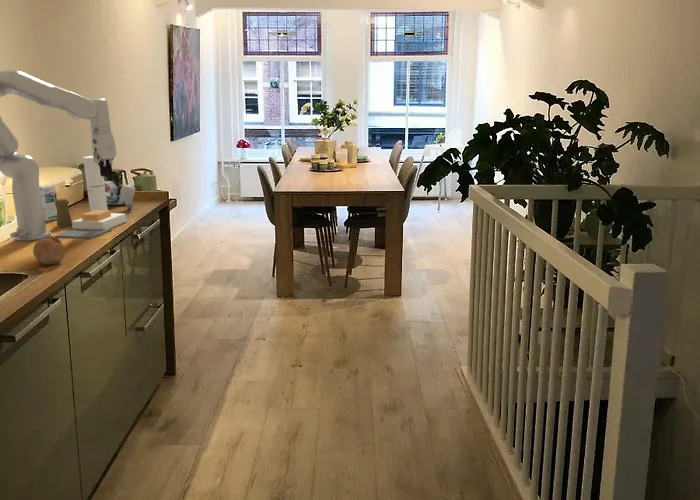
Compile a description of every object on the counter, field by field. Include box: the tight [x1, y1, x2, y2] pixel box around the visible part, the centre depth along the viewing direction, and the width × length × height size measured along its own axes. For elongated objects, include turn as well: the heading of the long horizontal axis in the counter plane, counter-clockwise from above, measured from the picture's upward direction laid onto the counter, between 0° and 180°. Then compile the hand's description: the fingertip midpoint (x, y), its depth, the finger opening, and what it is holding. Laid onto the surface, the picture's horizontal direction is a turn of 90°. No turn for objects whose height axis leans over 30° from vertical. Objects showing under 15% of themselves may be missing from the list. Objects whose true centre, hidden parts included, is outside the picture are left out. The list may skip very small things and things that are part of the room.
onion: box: [32, 235, 66, 266], centre depth 238 cm, size 10×9×10 cm
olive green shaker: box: [55, 198, 73, 228], centre depth 295 cm, size 6×6×11 cm
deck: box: [71, 212, 127, 229], centre depth 292 cm, size 16×14×4 cm
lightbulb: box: [120, 184, 136, 210], centre depth 323 cm, size 6×6×11 cm
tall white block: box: [82, 155, 109, 212], centre depth 313 cm, size 7×7×25 cm
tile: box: [81, 209, 112, 221], centre depth 290 cm, size 9×7×2 cm
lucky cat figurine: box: [104, 179, 126, 206], centre depth 335 cm, size 15×12×14 cm
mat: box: [54, 228, 112, 240], centre depth 280 cm, size 13×16×1 cm
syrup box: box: [39, 184, 58, 222], centre depth 308 cm, size 6×6×14 cm
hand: (106, 175), depth 296 cm, fingers closed
